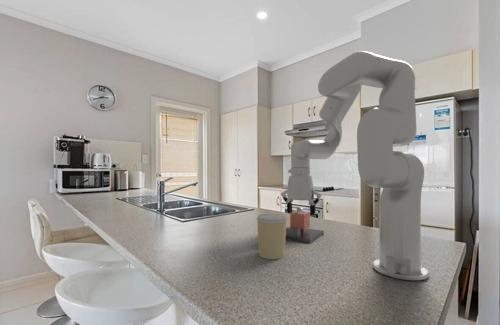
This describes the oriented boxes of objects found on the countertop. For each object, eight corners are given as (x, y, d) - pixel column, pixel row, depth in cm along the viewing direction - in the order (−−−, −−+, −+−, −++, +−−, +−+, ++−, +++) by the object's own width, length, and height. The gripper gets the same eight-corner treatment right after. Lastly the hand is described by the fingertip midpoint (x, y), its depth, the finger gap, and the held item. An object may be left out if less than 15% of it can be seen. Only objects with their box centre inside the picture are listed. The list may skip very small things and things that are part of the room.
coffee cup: (286, 250, 84) (286, 214, 84) (287, 261, 75) (287, 219, 75) (257, 249, 85) (258, 213, 85) (255, 259, 76) (255, 218, 76)
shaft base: (310, 243, 93) (310, 212, 93) (277, 238, 100) (278, 209, 100) (323, 234, 106) (323, 207, 106) (294, 230, 113) (294, 205, 114)
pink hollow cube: (304, 229, 101) (304, 214, 101) (290, 227, 104) (290, 212, 105) (309, 227, 106) (309, 212, 106) (296, 225, 109) (296, 211, 110)
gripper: (277, 172, 108) (277, 213, 107) (318, 171, 98) (318, 217, 97) (285, 172, 114) (285, 211, 113) (324, 172, 105) (324, 214, 104)
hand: (300, 214), depth 105 cm, fingers open, 9 cm apart
